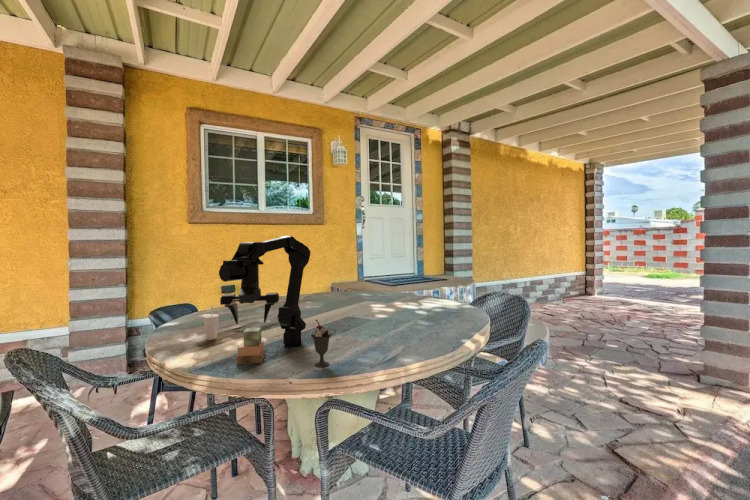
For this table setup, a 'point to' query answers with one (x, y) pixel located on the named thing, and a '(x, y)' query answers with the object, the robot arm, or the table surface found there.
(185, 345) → the table surface
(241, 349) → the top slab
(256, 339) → the cube
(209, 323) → the smoothie
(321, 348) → the sundae
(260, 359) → the bottom slab
